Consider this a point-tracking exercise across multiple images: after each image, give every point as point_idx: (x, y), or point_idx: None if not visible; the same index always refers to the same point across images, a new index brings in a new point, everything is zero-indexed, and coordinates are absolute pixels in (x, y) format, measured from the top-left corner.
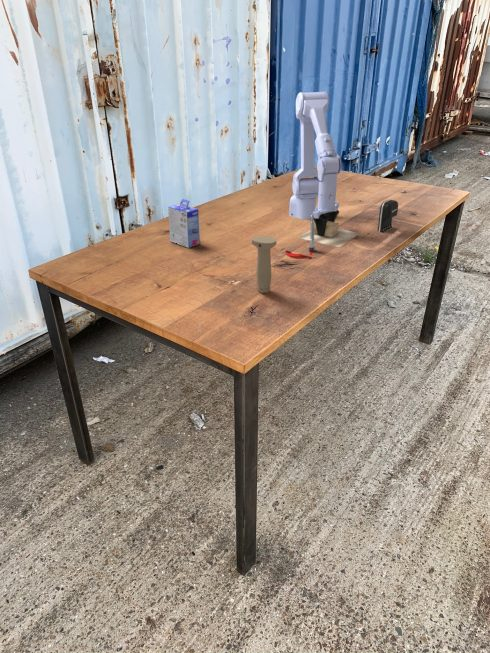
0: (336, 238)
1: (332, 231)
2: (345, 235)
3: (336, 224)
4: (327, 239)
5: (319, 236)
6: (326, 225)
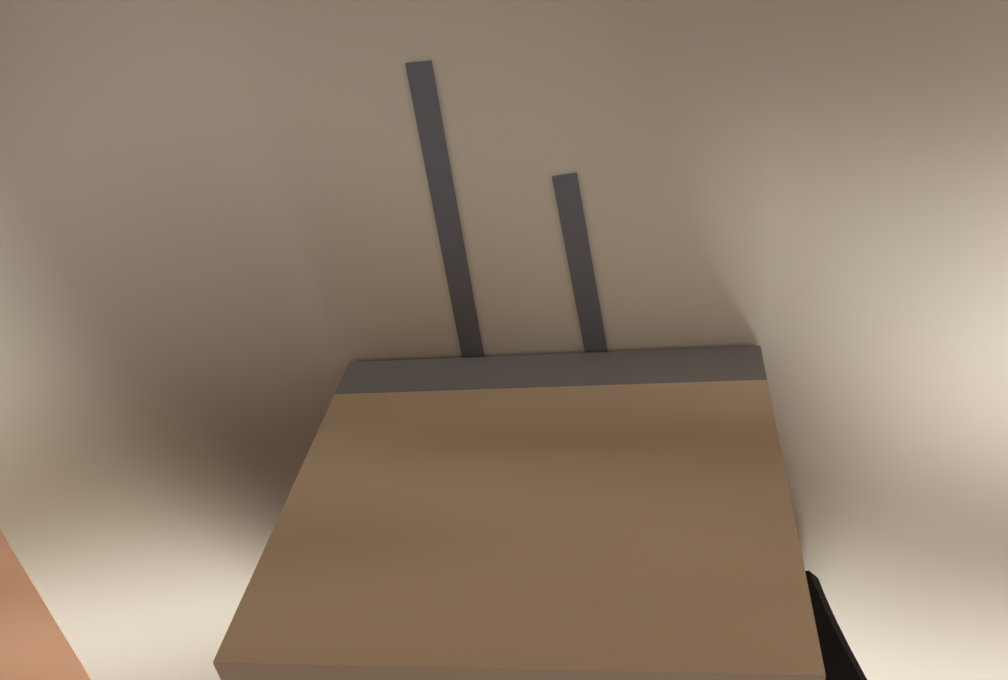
0: (653, 238)
1: (760, 504)
2: (218, 161)
3: (405, 673)
4: (904, 392)
5: None
6: None
